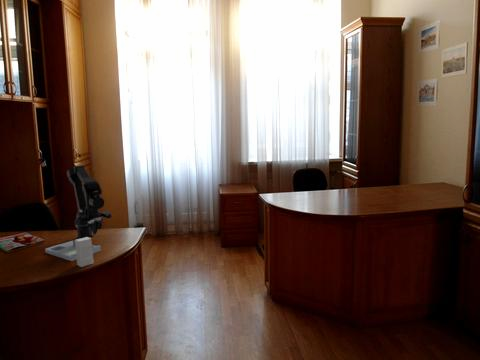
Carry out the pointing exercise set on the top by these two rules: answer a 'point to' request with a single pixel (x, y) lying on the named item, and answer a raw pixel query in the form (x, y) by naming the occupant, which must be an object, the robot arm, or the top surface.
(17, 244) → the top surface
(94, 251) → the board
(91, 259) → the skincare box
